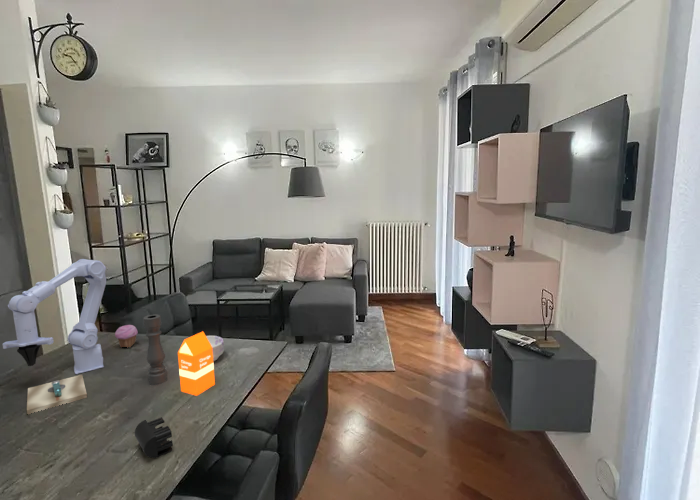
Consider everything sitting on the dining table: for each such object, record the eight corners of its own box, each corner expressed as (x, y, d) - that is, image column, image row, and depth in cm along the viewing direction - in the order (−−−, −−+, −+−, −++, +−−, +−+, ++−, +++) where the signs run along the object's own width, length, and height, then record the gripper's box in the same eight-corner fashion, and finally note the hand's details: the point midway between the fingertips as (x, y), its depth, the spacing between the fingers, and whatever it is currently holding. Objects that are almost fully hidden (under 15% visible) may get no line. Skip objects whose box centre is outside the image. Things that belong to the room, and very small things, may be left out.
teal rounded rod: (51, 387, 137) (51, 381, 137) (60, 384, 139) (59, 379, 139) (54, 397, 131) (53, 391, 130) (63, 394, 132) (62, 389, 132)
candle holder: (171, 378, 147) (165, 315, 143) (158, 386, 141) (151, 320, 137) (158, 375, 149) (152, 313, 145) (145, 383, 143) (138, 318, 139)
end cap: (135, 445, 109) (133, 423, 108) (162, 434, 113) (160, 413, 112) (145, 464, 101) (143, 440, 100) (173, 451, 106) (171, 429, 105)
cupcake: (112, 349, 174) (109, 328, 172) (126, 342, 182) (124, 321, 181) (129, 350, 172) (127, 329, 171) (143, 343, 181) (141, 322, 179)
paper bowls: (232, 356, 165) (231, 339, 164) (201, 371, 152) (200, 352, 151) (209, 349, 173) (207, 332, 172) (178, 362, 160) (176, 344, 159)
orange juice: (215, 384, 142) (211, 332, 139) (196, 396, 134) (192, 341, 131) (199, 380, 145) (195, 329, 142) (180, 391, 137) (175, 337, 134)
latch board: (82, 378, 148) (82, 373, 148) (87, 397, 134) (86, 393, 134) (28, 392, 138) (27, 387, 138) (27, 414, 124) (26, 409, 124)
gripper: (-6, 334, 131) (0, 372, 133) (44, 330, 134) (49, 367, 136) (7, 327, 138) (13, 363, 140) (54, 323, 141) (59, 358, 143)
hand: (31, 364), depth 138 cm, fingers closed
